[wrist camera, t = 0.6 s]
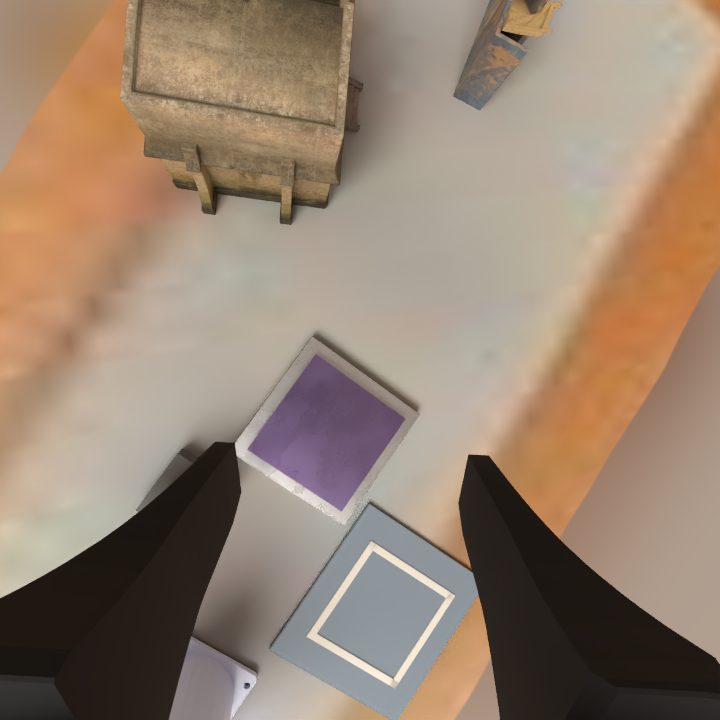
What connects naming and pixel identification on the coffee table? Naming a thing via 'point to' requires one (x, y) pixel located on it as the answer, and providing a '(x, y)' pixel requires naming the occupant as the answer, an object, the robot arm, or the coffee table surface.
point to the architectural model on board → (501, 46)
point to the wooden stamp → (169, 476)
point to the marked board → (378, 614)
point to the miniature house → (243, 95)
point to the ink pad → (325, 431)
